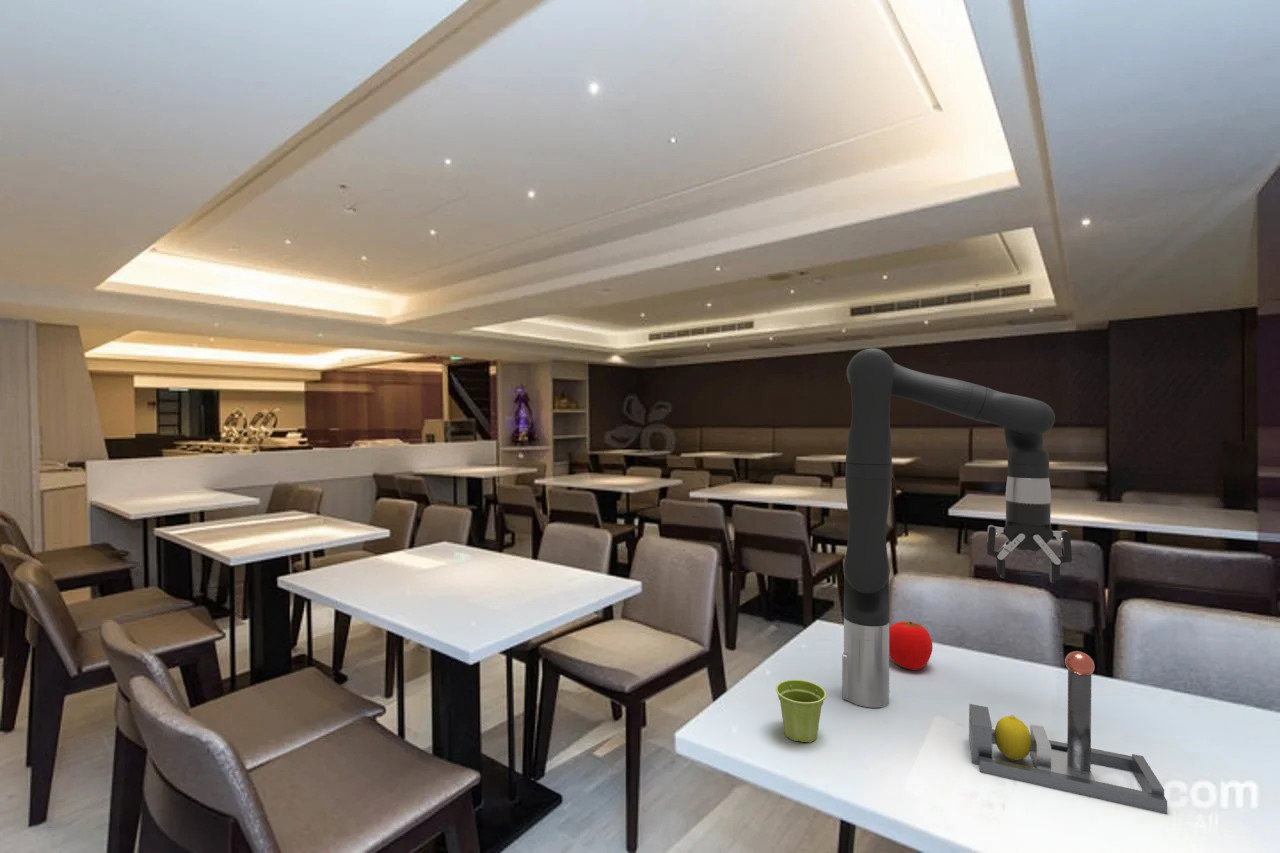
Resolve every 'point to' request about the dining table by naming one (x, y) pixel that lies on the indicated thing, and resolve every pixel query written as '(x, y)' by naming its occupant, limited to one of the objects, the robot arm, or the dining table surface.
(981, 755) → the frame
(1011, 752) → the lemon
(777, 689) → the plant pot
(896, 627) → the tomato
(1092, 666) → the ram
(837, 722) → the dining table surface
